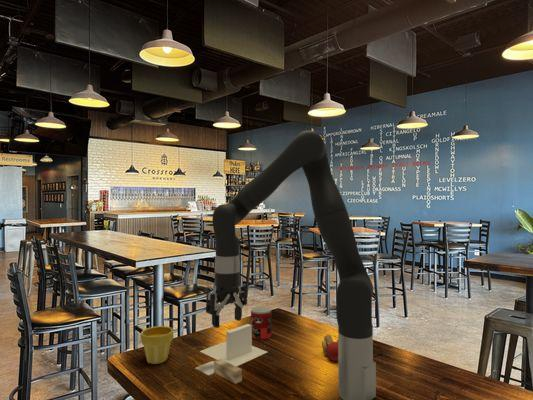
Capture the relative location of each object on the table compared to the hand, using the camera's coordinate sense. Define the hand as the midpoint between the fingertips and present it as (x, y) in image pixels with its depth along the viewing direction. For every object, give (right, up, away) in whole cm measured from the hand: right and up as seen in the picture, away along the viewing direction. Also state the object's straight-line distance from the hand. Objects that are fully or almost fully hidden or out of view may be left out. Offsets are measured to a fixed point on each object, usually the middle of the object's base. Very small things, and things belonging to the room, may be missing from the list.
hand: (227, 323), depth 110 cm
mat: (0, -16, +18) cm, 24 cm away
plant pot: (-25, -17, +13) cm, 33 cm away
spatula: (-2, -17, +2) cm, 17 cm away
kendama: (+35, -17, +18) cm, 43 cm away
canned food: (+10, -17, +32) cm, 37 cm away
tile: (+3, -16, +16) cm, 23 cm away
